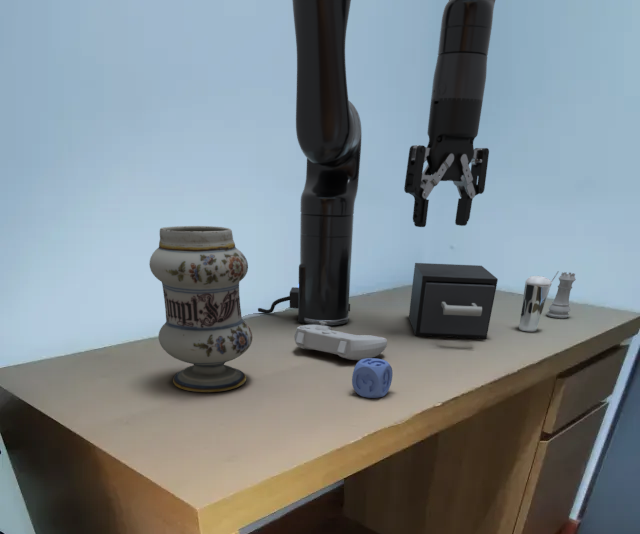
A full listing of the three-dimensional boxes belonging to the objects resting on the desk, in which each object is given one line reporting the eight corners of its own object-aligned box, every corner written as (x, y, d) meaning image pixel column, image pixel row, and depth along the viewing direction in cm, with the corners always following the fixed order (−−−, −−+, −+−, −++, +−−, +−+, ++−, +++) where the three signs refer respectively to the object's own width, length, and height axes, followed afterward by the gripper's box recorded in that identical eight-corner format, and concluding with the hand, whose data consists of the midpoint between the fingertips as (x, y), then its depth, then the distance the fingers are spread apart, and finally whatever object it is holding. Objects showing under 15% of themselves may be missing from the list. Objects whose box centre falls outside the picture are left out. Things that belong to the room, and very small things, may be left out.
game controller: (395, 334, 89) (363, 331, 81) (389, 363, 90) (357, 363, 83) (320, 319, 95) (283, 315, 87) (316, 347, 97) (280, 345, 89)
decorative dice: (364, 386, 78) (366, 356, 75) (391, 391, 76) (394, 361, 74) (350, 394, 75) (352, 363, 72) (378, 400, 73) (381, 368, 71)
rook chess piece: (571, 319, 116) (583, 275, 111) (550, 318, 116) (561, 274, 111) (564, 314, 119) (575, 271, 115) (543, 313, 119) (553, 271, 115)
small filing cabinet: (486, 338, 101) (498, 278, 95) (415, 335, 101) (422, 275, 95) (472, 319, 112) (481, 265, 107) (408, 317, 113) (415, 262, 107)
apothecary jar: (209, 362, 84) (197, 220, 74) (272, 379, 79) (269, 228, 68) (145, 382, 76) (121, 226, 66) (210, 402, 71) (196, 236, 60)
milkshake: (547, 333, 105) (562, 273, 99) (518, 332, 105) (532, 272, 99) (540, 327, 109) (554, 269, 103) (512, 326, 109) (525, 268, 103)
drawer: (492, 344, 94) (502, 293, 90) (423, 341, 94) (430, 290, 90) (472, 318, 110) (480, 273, 105) (413, 315, 110) (418, 270, 105)
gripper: (476, 102, 89) (458, 223, 98) (402, 95, 83) (391, 224, 92) (511, 99, 84) (489, 227, 93) (434, 92, 78) (419, 229, 87)
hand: (440, 226), depth 93 cm, fingers open, 8 cm apart
